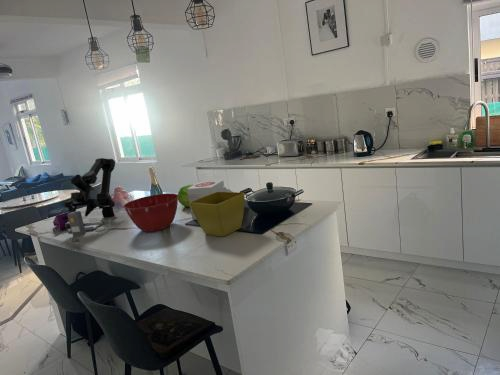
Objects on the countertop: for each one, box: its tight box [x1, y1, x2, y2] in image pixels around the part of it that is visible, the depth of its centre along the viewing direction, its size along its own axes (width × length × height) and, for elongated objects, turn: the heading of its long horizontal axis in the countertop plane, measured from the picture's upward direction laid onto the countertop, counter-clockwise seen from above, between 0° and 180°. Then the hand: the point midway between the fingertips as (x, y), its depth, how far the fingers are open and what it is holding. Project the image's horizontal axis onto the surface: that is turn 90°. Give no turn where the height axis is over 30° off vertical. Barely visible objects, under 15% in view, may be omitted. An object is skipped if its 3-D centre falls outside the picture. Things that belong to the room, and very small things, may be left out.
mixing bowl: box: [123, 193, 179, 233], centre depth 197 cm, size 28×28×15 cm
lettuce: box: [177, 184, 194, 208], centre depth 229 cm, size 15×22×15 cm
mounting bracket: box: [52, 211, 69, 232], centre depth 230 cm, size 10×9×19 cm
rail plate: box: [67, 220, 103, 234], centre depth 218 cm, size 16×10×3 cm, turn 81°
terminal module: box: [67, 210, 87, 237], centre depth 206 cm, size 5×6×13 cm
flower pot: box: [190, 191, 245, 237], centre depth 175 cm, size 19×19×17 cm
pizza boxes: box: [187, 180, 233, 221], centre depth 207 cm, size 19×30×18 cm, turn 139°
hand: (78, 217), depth 208 cm, fingers open, 9 cm apart
